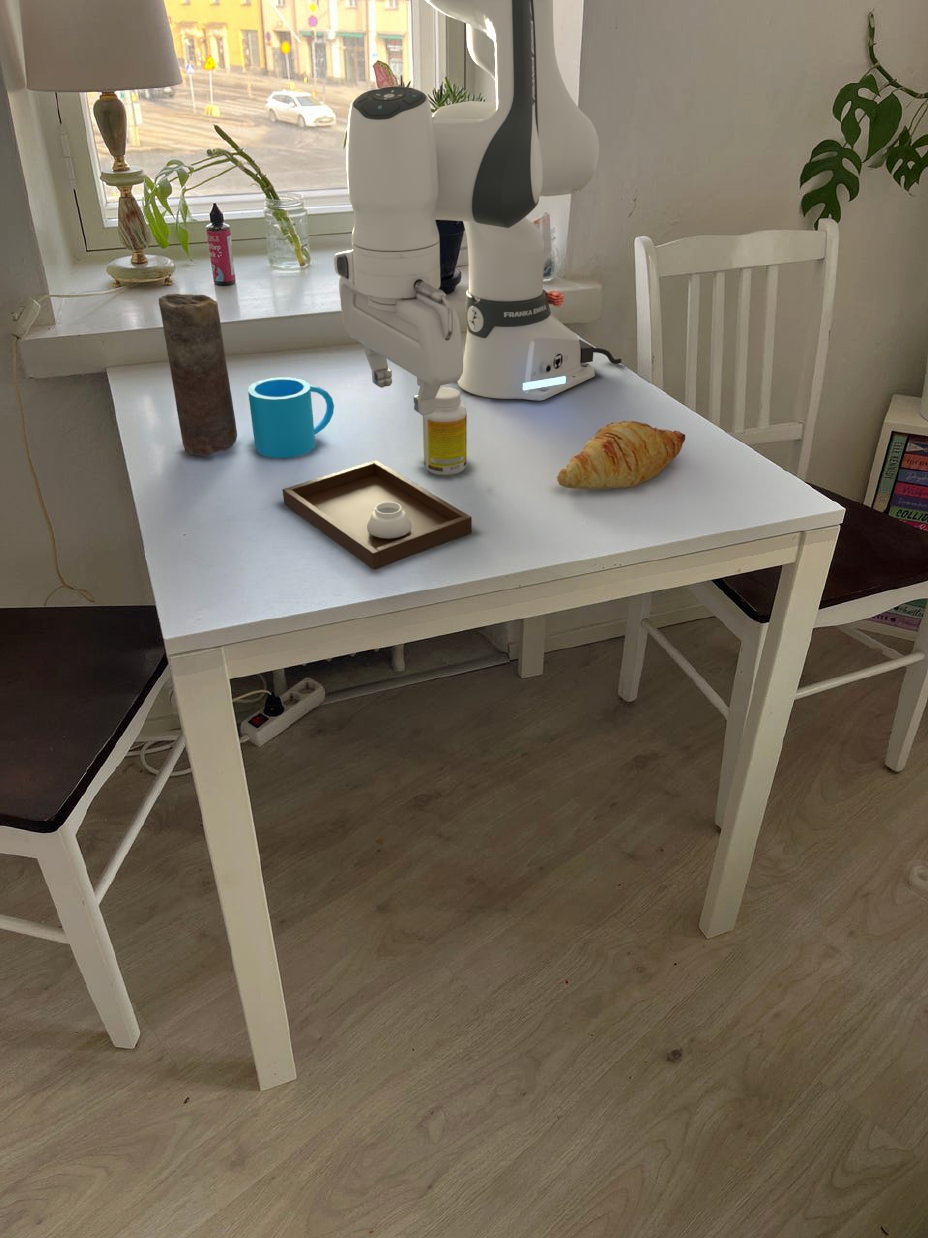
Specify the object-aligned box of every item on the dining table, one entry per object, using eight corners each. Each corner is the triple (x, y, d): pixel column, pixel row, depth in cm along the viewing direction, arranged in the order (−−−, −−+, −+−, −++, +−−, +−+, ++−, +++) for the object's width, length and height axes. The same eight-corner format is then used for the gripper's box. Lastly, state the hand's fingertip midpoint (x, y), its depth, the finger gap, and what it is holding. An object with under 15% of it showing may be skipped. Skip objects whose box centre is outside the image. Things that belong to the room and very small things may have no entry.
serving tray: (376, 474, 124) (376, 459, 123) (471, 532, 111) (472, 516, 110) (283, 504, 117) (282, 488, 116) (374, 570, 104) (372, 553, 103)
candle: (188, 435, 134) (163, 289, 123) (241, 434, 135) (221, 288, 124) (179, 458, 128) (152, 306, 117) (235, 457, 128) (214, 305, 117)
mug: (273, 463, 127) (266, 404, 122) (244, 443, 132) (236, 385, 128) (350, 441, 133) (346, 383, 128) (320, 422, 138) (315, 367, 134)
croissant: (571, 526, 120) (596, 486, 113) (527, 467, 123) (548, 424, 116) (690, 479, 130) (719, 440, 123) (647, 425, 133) (672, 384, 127)
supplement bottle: (473, 472, 125) (474, 396, 119) (434, 480, 123) (433, 403, 117) (455, 455, 129) (455, 382, 123) (417, 463, 127) (415, 388, 121)
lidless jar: (407, 518, 113) (364, 522, 112) (406, 495, 111) (363, 500, 110) (414, 538, 109) (370, 543, 108) (414, 515, 107) (369, 520, 106)
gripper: (478, 289, 93) (478, 423, 101) (377, 244, 107) (384, 365, 115) (422, 300, 90) (426, 437, 98) (326, 253, 104) (336, 376, 112)
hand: (402, 398), depth 107 cm, fingers open, 8 cm apart
